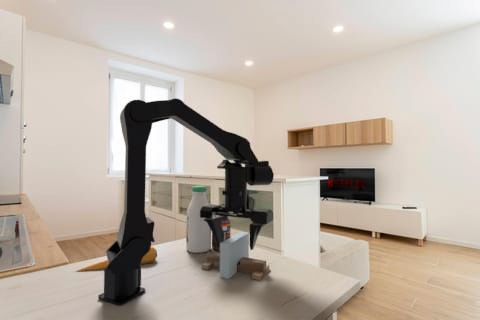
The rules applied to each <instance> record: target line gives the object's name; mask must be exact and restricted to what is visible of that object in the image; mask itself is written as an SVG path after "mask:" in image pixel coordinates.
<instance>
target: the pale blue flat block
mask: <svg viewBox="0 0 480 320" xmlns="http://www.w3.org/2000/svg"><path fill="white" fill-rule="evenodd" d="M249 248H250V232H245V231H240V232H238V233H237V234H234V235H232V236H230V238H229V239H227V240H225V241H223V242H222V243H220V250H219V253H220V268H219V278H222V279H227V280H229V279H230V278H232V277H233V276H234V275H235V274H236V273H237V272H238V271H237V263H239V262H240V259H242V258H243V257H246V258H250V257H249Z"/></svg>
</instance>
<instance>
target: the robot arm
mask: <svg viewBox="0 0 480 320" xmlns="http://www.w3.org/2000/svg"><path fill="white" fill-rule="evenodd" d="M170 119H171V120H174V121H176V122H177V123H178V124H179V125H182V127H184V128H187V129H188V130H189V131H191V132H192V133H194V134H195V135H197V136H199V137H200V138H203V139H204V140H205V141H207V142H209V143H210V144H211V145H212V146H213V147H214V149H215V150H216V151H217V152H218V153H219V154H220V155H221V156H222V157H223V158H224V159H223V160H222V161H221V163H219V164H218V165H217V169H218V170H220V169H222V170H224V189H223V190H222V196H224V206H223V205H222V204H209V205H206V206H203V207H202V208H201V209H200V218H205V219H204V221H206V222H207V223H208V225H209V227H210V229H211V233H212V232H213V235H214V237H215V239H216V241H217V243H218V245H220V243H221V241H222V225H221V224H222V220H223V216H228V217H230V218H231V217H232V218H240V219H241V218H242V219H250V221H251V222H252V223H250V224H249V248H250V251H253V250H254V248H255V245H256V242H257V240H258V236H259V234H260V232H261V229H263V228H262V227H264V226H266V225H268V224H269V223H271V222H272V221H274V212H273V210H272V209H271V208H260V207H258V208H255V204H256V199H255V198H253V197H252V196H250V190H249V189H248V187H247V186H248V185H249V186H251V187H253V186H254V187H255V186H270V185H271V184H272V183H273V180H274V171H273V168H272V167H271V166H270V162H269V160H261V161H260V160H259V159H258V158H257V156H256V154H255V152H254V151H253V150H252V147H251V142H250V141H249V140H248V139H247V138H245V137H244V136H241V135H239V134H237V133H233V132H230V131H227V130H225V129H222V128H221V127H219V126H218V125H217V124H215V123H213V122H212V121H210V120H209V119H208V118H206V117H204V116H203V115H202V114H201V113H199V112H197V111H196V110H194V109H193V108H192V107H190V106H188V105H187V104H186V103H185V102H184V101H182V100H181V99H180V98H172V99H167V100H166V99H165V100H154V101H153V100H152V101H147V102H146V101H144V100H142V99H134V100H130V101H129V102H127V103H126V104H125V106H124V108H122V110H121V112H120V116H119V121H120V127H121V131H122V132H121V133H122V137H123V142H124V145H125V158H124V159H125V164H124V165H125V167H124V168H125V169H124V170H125V171H124V200H123V201H124V205H123V206H124V209H123V214H122V217H121V220H120V224H119V228H118V232H117V237H116V238H117V239H116V241H114V242H113V244H112V245H110V246H109V247H108V249H106V251H105V254H106V258H107V259H106V260H108V263H109V265H108V266H107V267H106V268H104V269H103V271H104V272H103V274H104V275H103V292H102V293H100V294H99V295H98V299H99V300H102V301H105V302H108V303H110V304H115V305H118V306H122V305H125V304H126V303H128V302H130V301H131V300H133V299H135V298H136V297H138V296H139V295H142V293H145V292H146V288H145V287H142V266H141V264H140V263H141V261H142V258H143V256H145V255H146V254H147V253H148V252H149V250H150V248H151V247H152V243H155V242H156V240H155V238H154V229H155V221H154V220H152V219H151V218H150V217H148V216H147V215H146V179H147V178H146V174H147V173H146V170H147V169H146V167H147V144H148V141H149V138H150V136H151V135H150V134H151V131H152V128H153V124H155V123H159V122H161V121H167V120H170ZM231 161H233V162H231ZM219 215H220V216H219Z"/></svg>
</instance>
